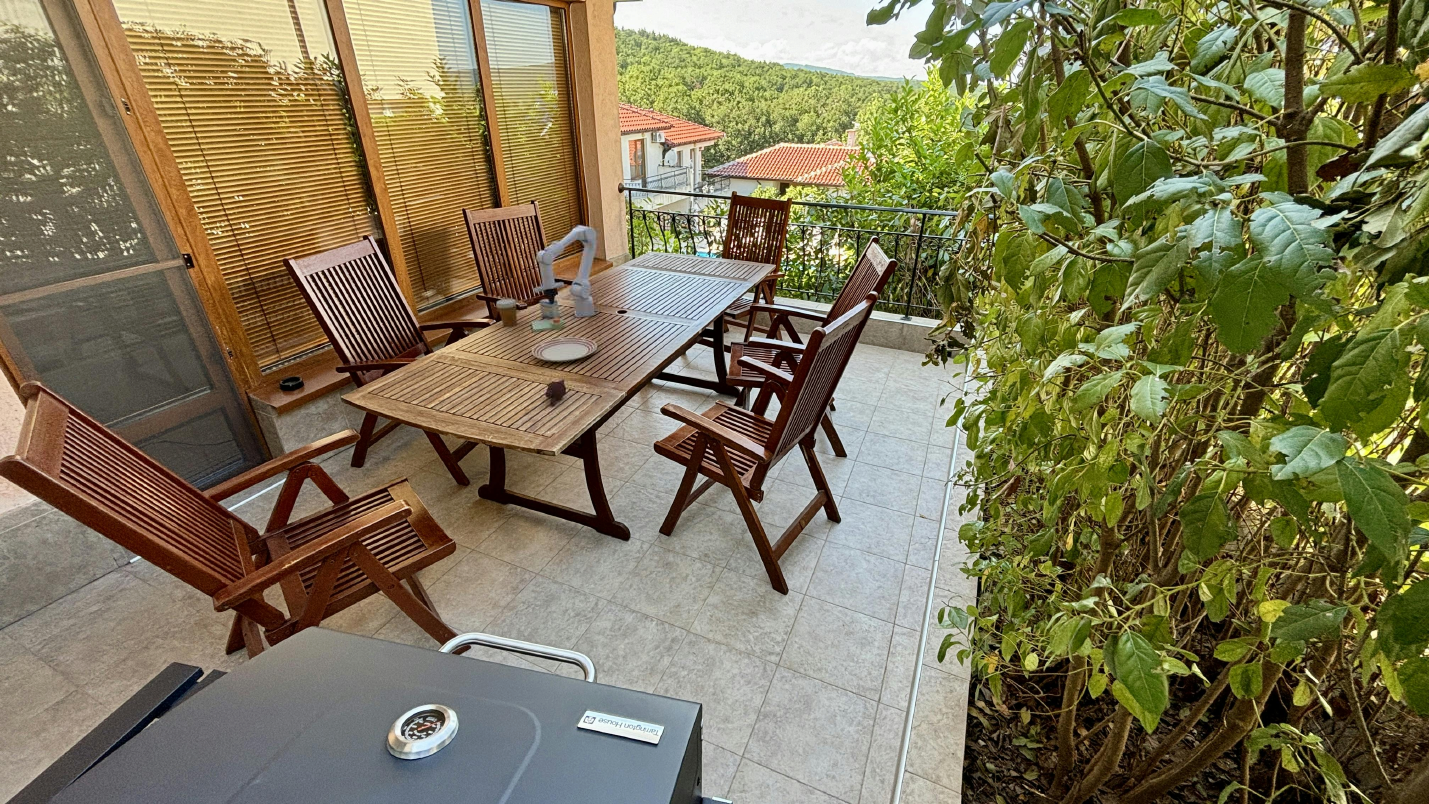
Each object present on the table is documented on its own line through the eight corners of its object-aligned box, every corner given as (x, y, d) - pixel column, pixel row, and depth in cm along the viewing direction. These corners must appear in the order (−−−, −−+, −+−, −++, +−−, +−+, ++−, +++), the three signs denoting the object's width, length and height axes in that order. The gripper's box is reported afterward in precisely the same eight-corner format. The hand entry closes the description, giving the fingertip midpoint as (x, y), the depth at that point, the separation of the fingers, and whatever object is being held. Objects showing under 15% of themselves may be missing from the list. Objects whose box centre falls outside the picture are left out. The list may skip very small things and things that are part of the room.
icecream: (551, 373, 225) (535, 394, 213) (568, 370, 223) (553, 390, 211) (558, 389, 229) (543, 410, 216) (575, 385, 227) (561, 407, 214)
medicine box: (541, 317, 304) (539, 301, 300) (547, 314, 307) (544, 298, 303) (554, 319, 301) (552, 302, 297) (559, 316, 305) (557, 299, 301)
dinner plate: (575, 338, 276) (574, 331, 275) (610, 353, 259) (609, 346, 257) (521, 355, 259) (519, 348, 258) (554, 372, 242) (553, 365, 240)
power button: (559, 320, 290) (559, 317, 290) (560, 322, 288) (559, 319, 287) (553, 321, 290) (552, 318, 289) (553, 323, 287) (553, 320, 286)
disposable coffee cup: (523, 321, 299) (519, 298, 293) (515, 328, 290) (511, 304, 285) (505, 321, 300) (500, 298, 294) (497, 327, 291) (492, 304, 286)
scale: (561, 320, 299) (560, 314, 297) (564, 328, 288) (563, 322, 287) (531, 324, 295) (530, 318, 293) (533, 332, 284) (532, 326, 283)
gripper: (537, 281, 278) (541, 309, 284) (565, 275, 286) (569, 302, 292) (530, 278, 283) (535, 305, 289) (558, 272, 291) (562, 299, 297)
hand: (551, 303), depth 291 cm, fingers closed
